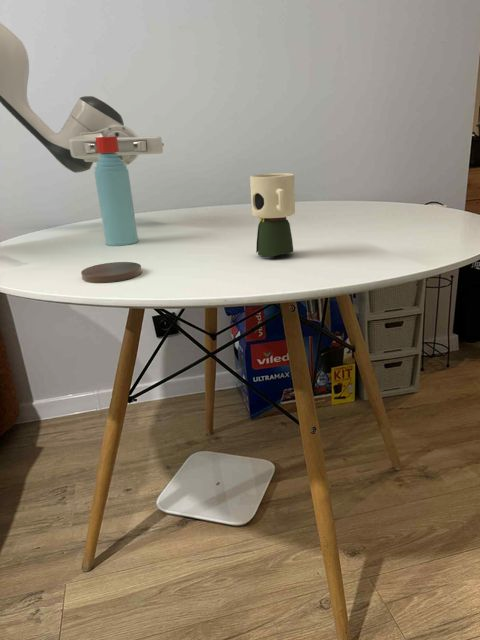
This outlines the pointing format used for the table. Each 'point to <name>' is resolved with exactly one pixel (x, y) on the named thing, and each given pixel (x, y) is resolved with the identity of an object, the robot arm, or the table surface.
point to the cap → (107, 144)
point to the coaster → (111, 272)
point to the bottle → (115, 200)
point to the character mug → (273, 212)
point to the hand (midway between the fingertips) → (114, 147)
